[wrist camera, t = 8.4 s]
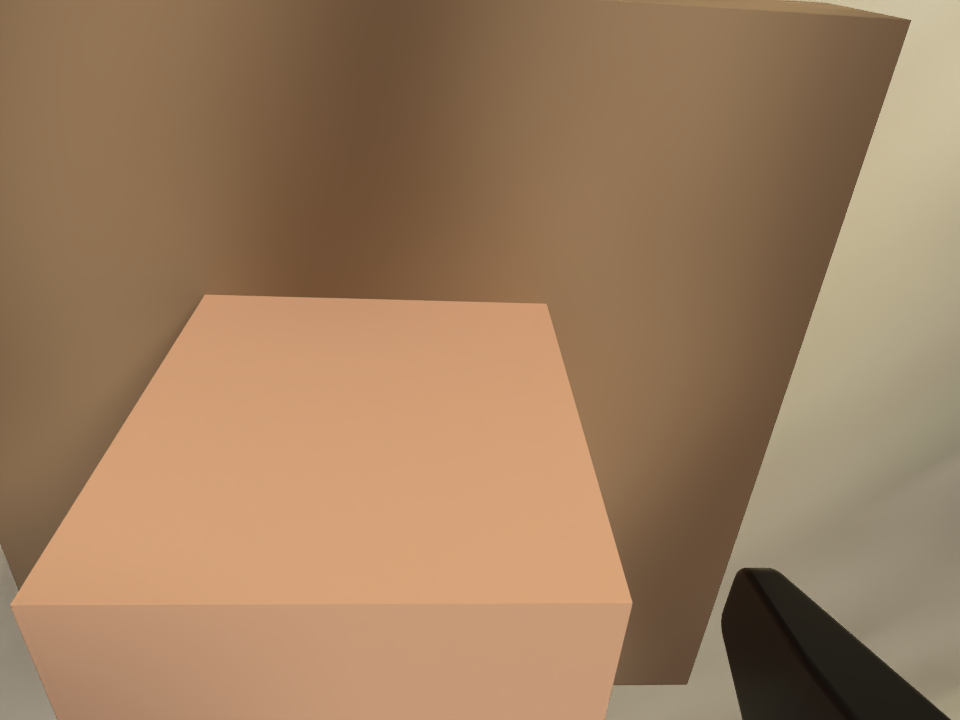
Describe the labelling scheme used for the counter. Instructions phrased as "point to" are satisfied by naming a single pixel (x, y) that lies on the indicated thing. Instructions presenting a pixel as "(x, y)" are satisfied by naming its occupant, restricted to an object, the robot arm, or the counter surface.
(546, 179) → the walnut base
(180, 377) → the terracotta block
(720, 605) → the counter surface
